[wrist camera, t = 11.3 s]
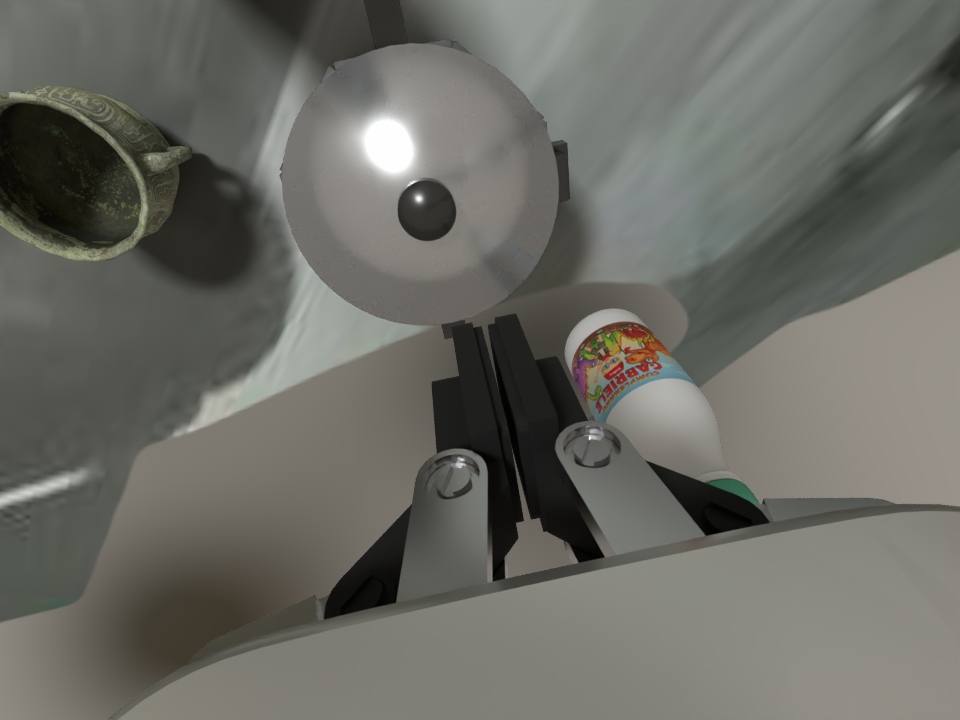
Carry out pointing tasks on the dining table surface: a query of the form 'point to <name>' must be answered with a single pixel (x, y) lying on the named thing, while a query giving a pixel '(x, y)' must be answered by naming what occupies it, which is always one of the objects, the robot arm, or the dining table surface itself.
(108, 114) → the vessel
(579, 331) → the milk bottle
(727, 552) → the robot arm
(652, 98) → the dining table surface
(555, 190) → the lid
